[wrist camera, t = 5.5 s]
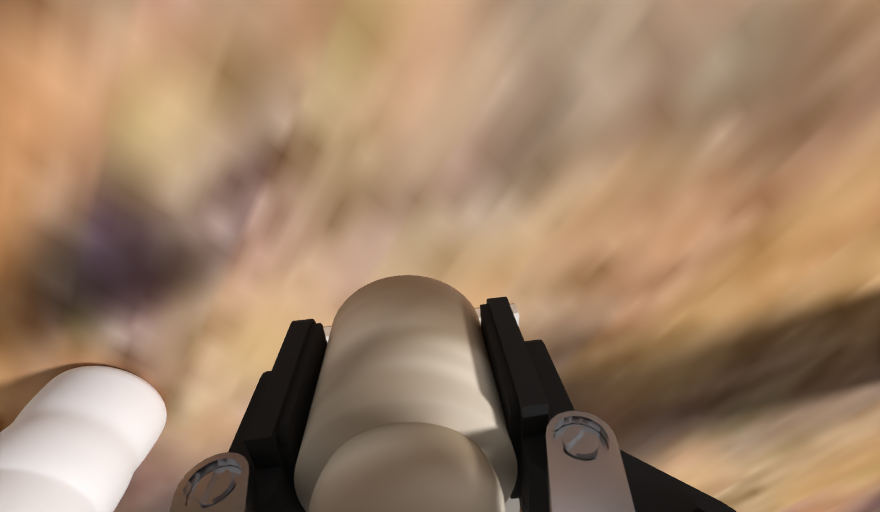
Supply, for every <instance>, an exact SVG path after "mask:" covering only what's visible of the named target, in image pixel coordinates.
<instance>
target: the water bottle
mask: <svg viewBox="0 0 880 512" xmlns="http://www.w3.org/2000/svg"><path fill="white" fill-rule="evenodd" d="M166 418H167V413H166V407H165V404H164V402H163V400H162V398H161V396H160V395H159V393H158V392H157V391H156V390H155V389H154V388H153V387H152V386H151V385H150V384H149V383H148V382H146V381H145V380H143V379H142V378H140V377H138V376H136V375H134V374H132V373H130V372H127V371H124V370H121V369H117V368H113V367H107V366H84V367H78V368H74V369H70V370H67V371H65V372H63V373H61V374H59V375H57V376H56V377H54V378H53V379H52V380H51V381H50V382H48V383H47V384H46V385H45V386H44V387H43V388H42V389H41V390H40V391H39V392H38V393H37V394H36V395H35V396H34V397H33V398H32V399H31V400H30V402H29V403H28V404H27V405H26V406H25V407H24V408H23V410H22V411H21V412H20V413H19V415H18V416H17V417H16V419H15V420H14V421H13V423H12V424H11V425H9V426H8V427H7V428H5V429H4V430H3V431H1V432H0V512H113V511H114V509H115V508H116V506H117V505H118V503H119V502H120V500H121V498H122V496H123V495H124V493H125V491H126V489H127V487H128V485H129V483H130V480H131V478H132V476H133V473H134V471H135V470H136V469H137V468H138V466H139V465H140V464H141V463H142V461H143V460H144V459H145V457H146V456H147V455H148V453H149V452H150V450H151V449H152V447H153V446H154V444H155V442H156V441H157V439H158V438H159V436H160V434H161V432H162V430H163V428H164V426H165V423H166Z"/></svg>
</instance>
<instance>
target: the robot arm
mask: <svg viewBox="0 0 880 512" xmlns="http://www.w3.org/2000/svg"><path fill="white" fill-rule="evenodd" d="M480 317H481V329H482V333H483V336H484V340H485V344H486V348H487V352H488V355H489V359H490V363H491V367H492V371H493V374H494V378H495V382H496V386H497V390H498V393H499V397H500V401H501V405H502V409H503V412H504V416H505V420H506V424H507V428H508V431H509V435H510V439H511V442H512V445H513V448H514V451H515V455H516V459H517V468H518V470H517V479H516V483H515V486H514V489H513V491H512V493H511V495H510V498H511V499H516V498H519V502H520V506H521V510H522V512H736V511H735V510H734V509H732V508H731V507H729V506H727V505H726V504H724V503H723V502H721V501H719V500H717V499H715V498H713V497H711V496H709V495H707V494H705V493H703V492H701V491H699V490H698V489H696V488H694V487H692V486H690V485H688V484H686V483H684V482H682V481H680V480H678V479H676V478H674V477H672V476H670V475H668V474H666V473H664V472H662V471H660V470H658V469H656V468H655V467H653V466H651V465H649V464H647V463H645V462H643V461H641V460H639V459H637V458H635V457H633V456H631V455H629V454H627V453H625V452H623V451H621V450H620V449H619V445H618V441H617V438H616V436H615V434H614V432H613V430H612V429H611V428H610V426H609V425H608V424H607V423H606V422H604V421H603V420H602V419H600V418H599V417H597V416H595V415H592V414H590V413H587V412H582V411H575V410H574V408H573V406H572V404H571V401H570V399H569V397H568V395H567V393H566V390H565V388H564V386H563V384H562V382H561V379H560V377H559V375H558V373H557V371H556V368H555V366H554V364H553V362H552V360H551V358H550V355H549V353H548V351H547V349H546V347H545V344H544V343H543V341H542V340H541V339H540V340H532V341H524V339H523V337H522V334H521V332H520V329H519V327H518V324H517V322H516V319H515V316H514V314H513V311H512V309H511V306H510V304H509V301H508V299H507V297H499V298H490V299H487V304H483V305H480ZM326 347H327V340H326V336H325V332H324V329H323V325H322V324H321V323H317V324H316V322H315V320H314V319H306V320H298V321H292V323H291V324H290V327H289V329H288V332H287V334H286V337H285V339H284V342H283V344H282V347H281V349H280V351H279V354H278V356H277V359H276V361H275V364H274V366H273V369H272V371H267V372H264V373H263V374H262V376H261V378H260V380H259V382H258V384H257V387H256V389H255V391H254V394H253V396H252V398H251V401H250V403H249V405H248V408H247V410H246V412H245V415H244V417H243V419H242V421H241V424H240V426H239V428H238V431H237V433H236V435H235V438H234V440H233V442H232V445H231V447H230V449H229V452H227V453H221V454H217V455H214V456H212V457H209V458H207V459H205V460H204V461H202V462H201V463H199V464H197V465H196V466H195V467H194V468H192V469H191V470H190V471H189V472H188V473H187V474H186V475H185V476H184V478H183V479H182V480H181V482H180V483H179V485H178V487H177V489H176V492H175V494H174V497H173V501H172V505H171V508H170V512H306V511H305V509H304V508H303V507H302V505H301V503H300V501H299V499H298V497H297V494H296V490H295V487H294V472H295V466H296V462H297V458H298V454H299V451H300V447H301V443H302V439H303V435H304V431H305V428H306V424H307V420H308V416H309V412H310V408H311V404H312V401H313V397H314V393H315V389H316V385H317V381H318V378H319V374H320V370H321V366H322V362H323V358H324V354H325V351H326Z"/></svg>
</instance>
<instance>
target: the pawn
mask: <svg viewBox="0 0 880 512" xmlns="http://www.w3.org/2000/svg"><path fill="white" fill-rule="evenodd" d="M517 470H518V468H517V459H516V455H515V451H514V448H513V445H512V442H511V439H510V435H509V431H508V428H507V424H506V420H505V416H504V412H503V409H502V405H501V401H500V397H499V393H498V390H497V386H496V382H495V378H494V374H493V371H492V367H491V363H490V359H489V355H488V352H487V348H486V344H485V340H484V336H483V333H482V329H481V324H480V320H479V317H478V315H477V313H476V311H475V309H474V307H473V306H472V305H471V303H470V302H469V301H468V300H467V299H466V298H465V296H464V295H462V294H461V293H460V292H459V291H457V290H456V289H454V288H453V287H451V286H449V285H448V284H445V283H443V282H441V281H438V280H435V279H432V278H428V277H422V276H413V275H403V276H393V277H387V278H384V279H380V280H377V281H374V282H372V283H370V284H367V285H366V286H364V287H362V288H361V289H359V290H357V291H356V292H355V293H354V294H352V295H351V296H350V297H349V298H348V299H347V300H346V301H345V302H344V303H343V305H342V306H341V307H340V309H339V310H338V312H337V314H336V316H335V318H334V321H333V324H332V328H331V331H330V335H329V339H328V343H327V347H326V351H325V354H324V358H323V362H322V366H321V370H320V374H319V378H318V381H317V385H316V389H315V393H314V397H313V401H312V404H311V408H310V412H309V416H308V420H307V424H306V428H305V431H304V435H303V439H302V443H301V447H300V451H299V454H298V458H297V462H296V466H295V472H294V487H295V490H296V494H297V497H298V499H299V501H300V503H301V505H302V507H303V508H304V509H305V511H306V512H506V508H505V503H506V502H507V500H508V499H509V497H510V495H511V493H512V491H513V489H514V486H515V483H516V479H517Z"/></svg>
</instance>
